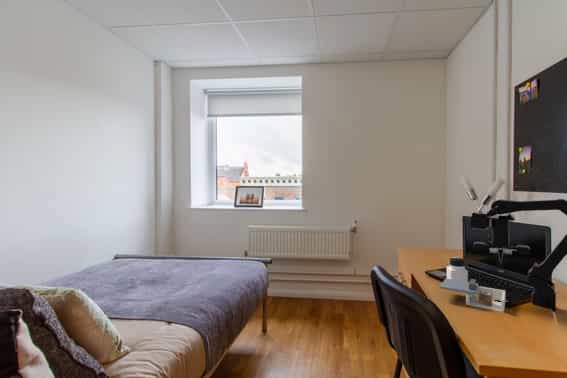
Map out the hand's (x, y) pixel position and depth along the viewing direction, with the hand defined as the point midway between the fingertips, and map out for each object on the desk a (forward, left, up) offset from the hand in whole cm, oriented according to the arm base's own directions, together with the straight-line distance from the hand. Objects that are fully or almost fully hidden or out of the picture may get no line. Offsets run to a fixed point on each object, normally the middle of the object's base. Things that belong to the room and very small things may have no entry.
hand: (500, 269), depth 129 cm
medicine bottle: (+17, -11, -12) cm, 24 cm away
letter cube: (+4, +12, -11) cm, 17 cm away
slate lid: (+13, +11, -7) cm, 18 cm away
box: (+4, +11, -12) cm, 17 cm away
